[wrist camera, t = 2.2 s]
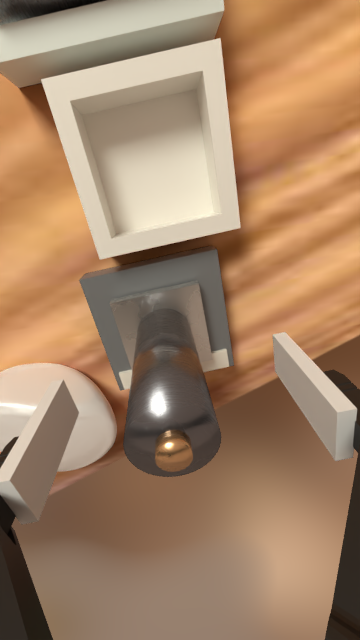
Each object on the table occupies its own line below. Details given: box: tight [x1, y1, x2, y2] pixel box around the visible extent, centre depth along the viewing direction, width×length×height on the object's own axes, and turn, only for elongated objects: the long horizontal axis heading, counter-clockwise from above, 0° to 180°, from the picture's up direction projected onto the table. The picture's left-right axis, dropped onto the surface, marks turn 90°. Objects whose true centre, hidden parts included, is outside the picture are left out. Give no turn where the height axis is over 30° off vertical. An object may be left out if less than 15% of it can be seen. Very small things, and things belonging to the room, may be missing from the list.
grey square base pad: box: [79, 245, 234, 390], centre depth 24 cm, size 11×11×2 cm
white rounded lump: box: [0, 363, 117, 471], centre depth 24 cm, size 10×11×12 cm
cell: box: [123, 308, 221, 477], centre depth 17 cm, size 4×4×12 cm
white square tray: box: [41, 38, 241, 259], centre depth 19 cm, size 10×10×4 cm
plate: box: [110, 280, 213, 369], centre depth 23 cm, size 7×7×1 cm
